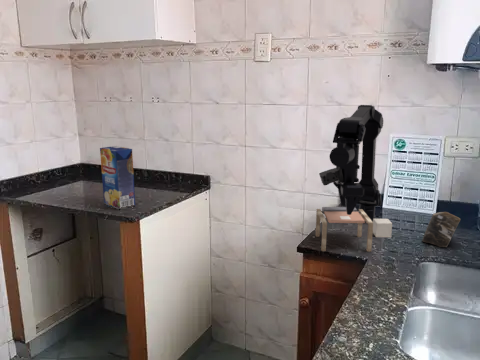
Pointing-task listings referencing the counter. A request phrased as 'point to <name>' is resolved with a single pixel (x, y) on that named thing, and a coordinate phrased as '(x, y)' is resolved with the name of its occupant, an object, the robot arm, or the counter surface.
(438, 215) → the rock
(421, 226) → the counter surface
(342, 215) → the trapdoor
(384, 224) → the limestone block
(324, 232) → the frame
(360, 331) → the counter surface
